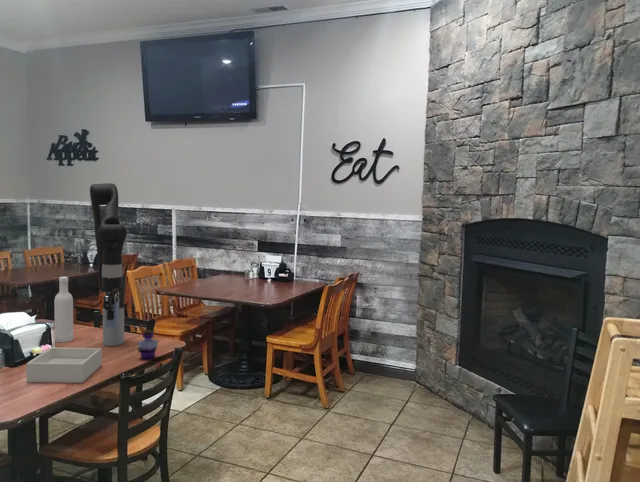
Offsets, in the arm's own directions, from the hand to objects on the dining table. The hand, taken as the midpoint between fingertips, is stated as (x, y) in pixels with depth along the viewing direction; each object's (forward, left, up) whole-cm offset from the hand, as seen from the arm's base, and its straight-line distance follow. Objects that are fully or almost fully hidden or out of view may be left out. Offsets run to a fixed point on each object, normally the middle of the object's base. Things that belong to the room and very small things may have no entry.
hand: (112, 318), depth 205 cm
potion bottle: (-16, +10, -21) cm, 29 cm away
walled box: (+4, -16, -21) cm, 27 cm away
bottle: (-40, -35, -21) cm, 57 cm away
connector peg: (0, 0, -3) cm, 3 cm away
